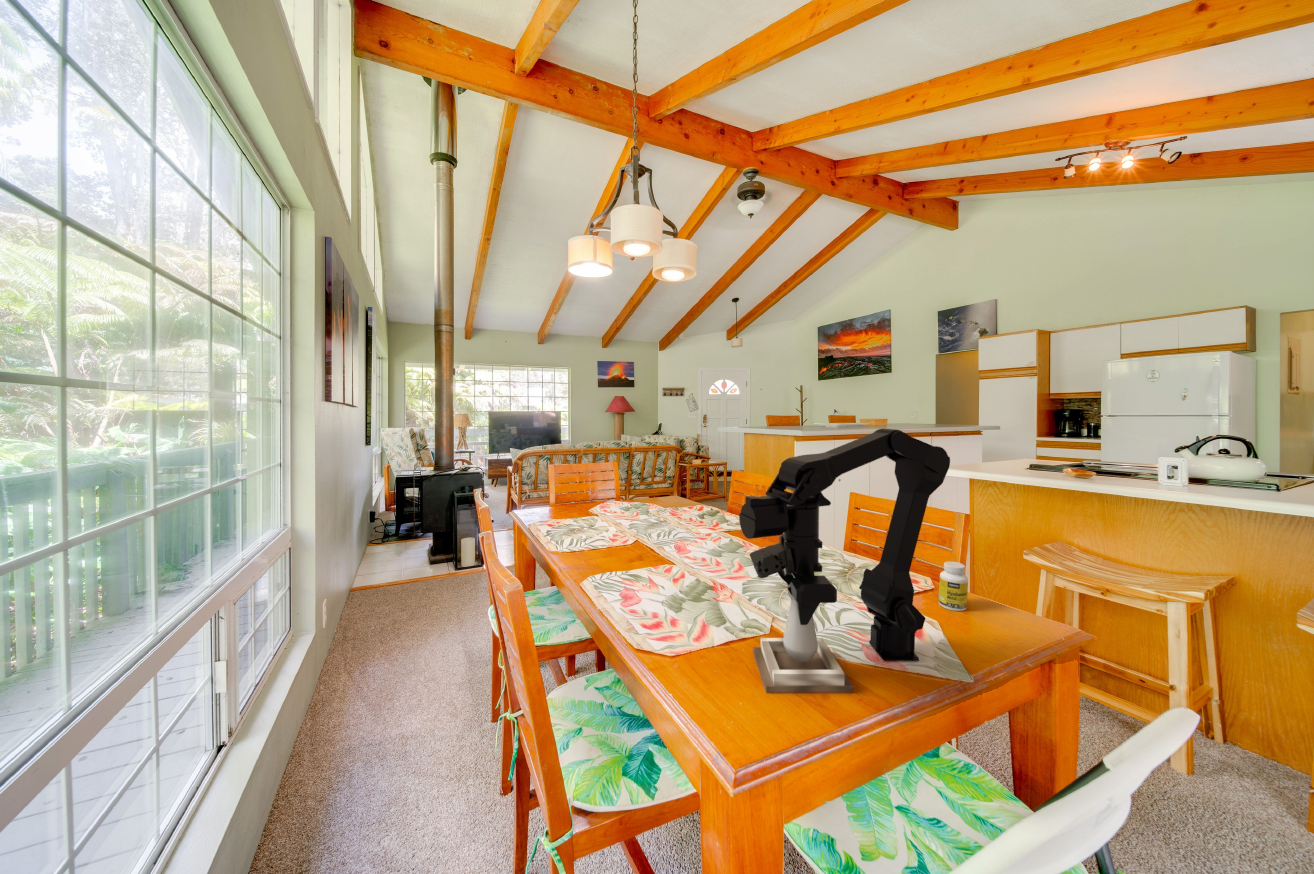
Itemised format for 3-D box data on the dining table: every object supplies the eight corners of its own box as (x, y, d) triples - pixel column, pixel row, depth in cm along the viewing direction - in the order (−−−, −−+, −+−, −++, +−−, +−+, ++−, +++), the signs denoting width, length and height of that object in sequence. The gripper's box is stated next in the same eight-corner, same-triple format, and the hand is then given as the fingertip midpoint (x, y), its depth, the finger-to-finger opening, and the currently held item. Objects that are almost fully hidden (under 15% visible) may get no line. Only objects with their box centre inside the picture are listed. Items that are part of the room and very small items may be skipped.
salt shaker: (819, 666, 79) (820, 591, 78) (784, 663, 80) (784, 589, 79) (815, 647, 85) (815, 578, 83) (782, 645, 86) (782, 576, 85)
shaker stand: (828, 652, 88) (828, 636, 88) (853, 692, 76) (853, 674, 76) (753, 652, 89) (753, 636, 88) (766, 692, 77) (766, 674, 77)
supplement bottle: (944, 611, 104) (946, 568, 103) (934, 600, 109) (936, 559, 108) (971, 612, 103) (973, 569, 102) (959, 601, 108) (961, 560, 108)
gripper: (744, 518, 90) (745, 597, 91) (764, 550, 71) (764, 649, 73) (803, 517, 90) (803, 596, 91) (838, 549, 71) (837, 648, 72)
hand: (800, 619), depth 82 cm, fingers closed on salt shaker, 3 cm apart
